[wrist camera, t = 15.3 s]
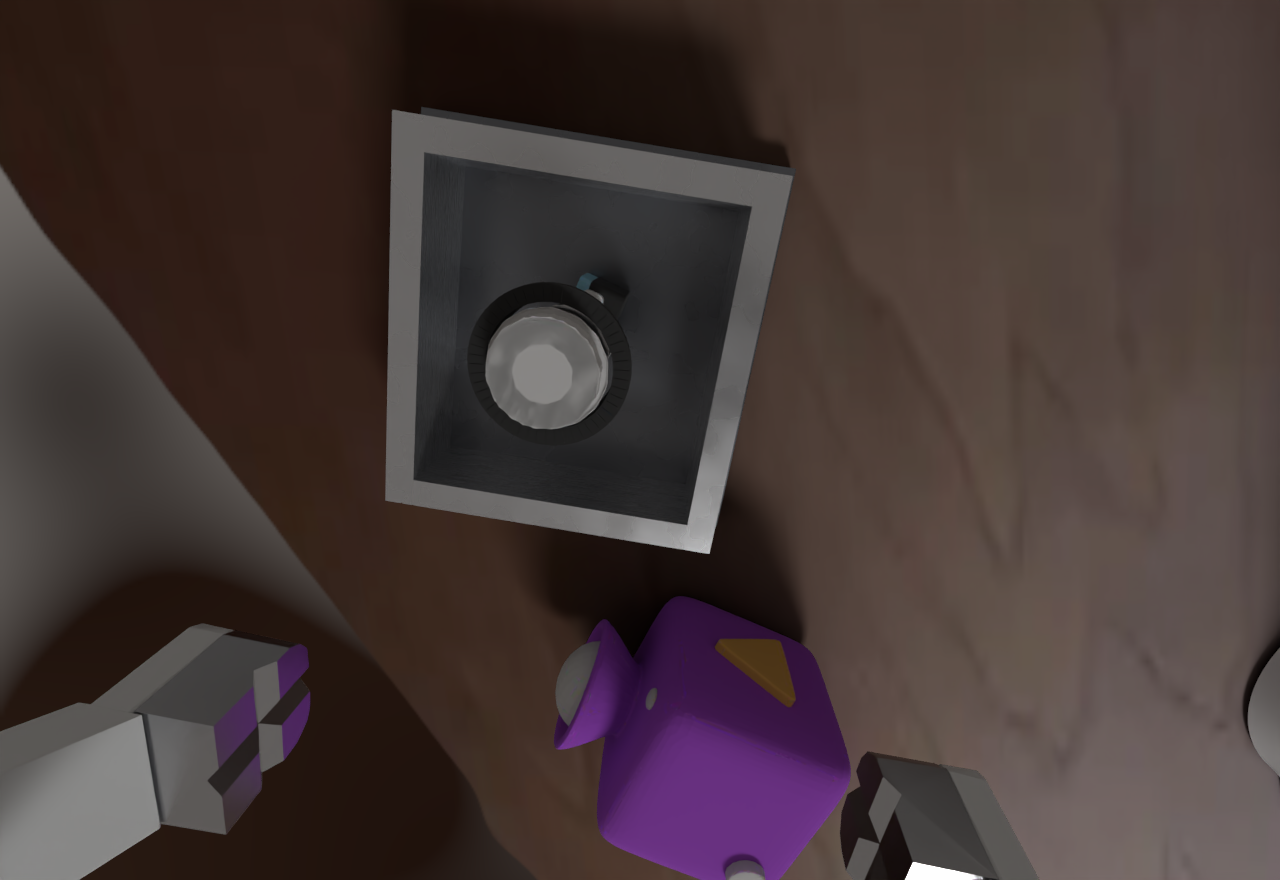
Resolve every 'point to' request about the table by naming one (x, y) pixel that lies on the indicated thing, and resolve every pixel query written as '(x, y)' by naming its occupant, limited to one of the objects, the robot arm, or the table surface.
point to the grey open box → (558, 252)
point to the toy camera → (706, 741)
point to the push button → (552, 360)
